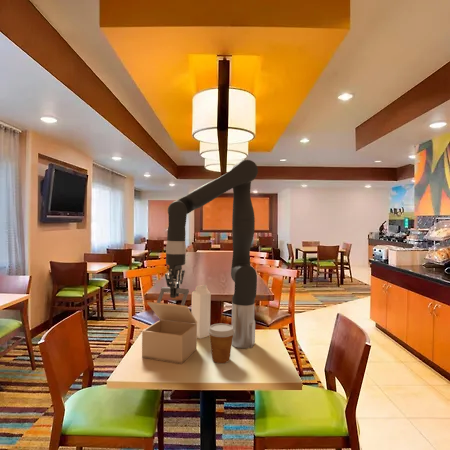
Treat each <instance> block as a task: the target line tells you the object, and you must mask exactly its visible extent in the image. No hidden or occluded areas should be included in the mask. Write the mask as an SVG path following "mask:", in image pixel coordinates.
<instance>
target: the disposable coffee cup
mask: <svg viewBox="0 0 450 450" xmlns="http://www.w3.org/2000/svg"><path fill="white" fill-rule="evenodd" d="M208 331H209V334H210V336H209V340H210V349H211V350H210V351H211V359H212V362H214V363H218V364H225V363H228V362H230V358H231V350H232V346H233V345H232V338H233V334H234V329H233V326H232V324H229V323H214V324H210V329H209V330H208Z"/></svg>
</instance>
